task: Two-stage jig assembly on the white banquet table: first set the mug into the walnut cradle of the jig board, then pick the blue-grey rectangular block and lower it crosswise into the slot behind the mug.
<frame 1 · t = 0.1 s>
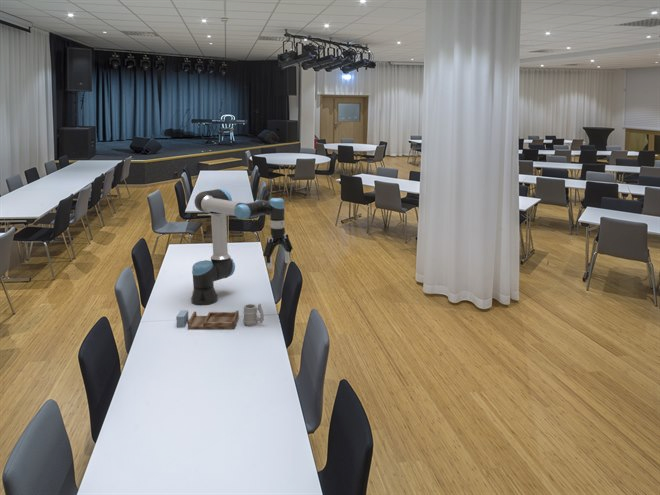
hand: (278, 265, 298), 28 cm above the table, fingers open, 13 cm apart
mug: (254, 324, 290), on the table
jig: (214, 323, 291), on the table
blue-grey rectangular block: (182, 324, 291), on the table
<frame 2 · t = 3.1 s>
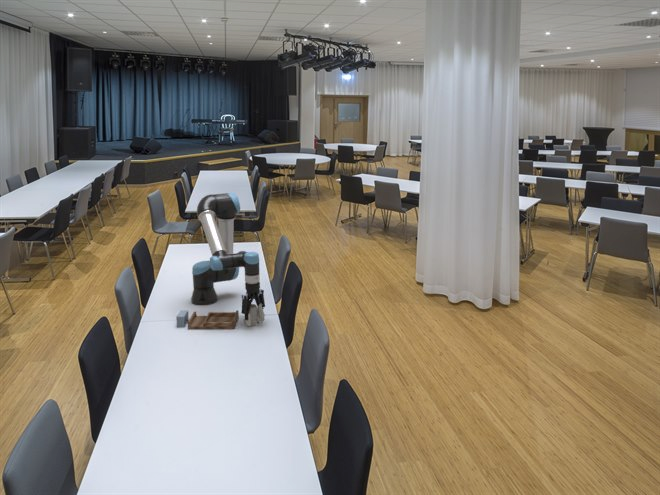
hand: (253, 323, 290), 1 cm above the table, fingers closed on mug, 7 cm apart
mug: (254, 324, 291), on the table, touching gripper
everything else where it was.
when the fingers open (5 cm above the table, at t = 8.1 s): mug drops 2 cm, resting on jig.
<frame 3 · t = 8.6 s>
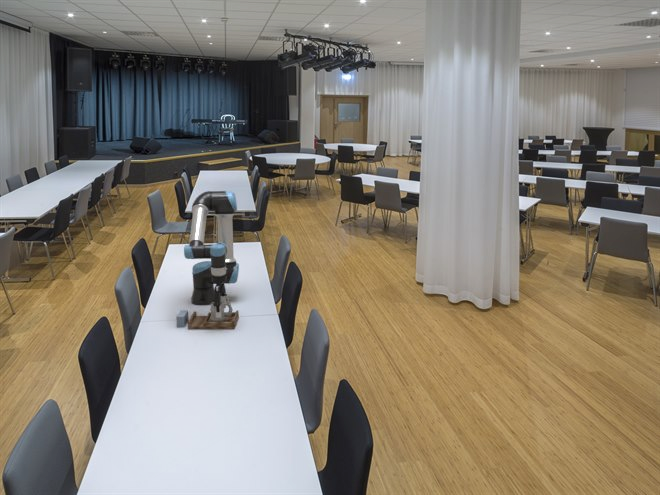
hand: (221, 312, 290), 6 cm above the table, fingers open, 13 cm apart
mug: (221, 320, 291), point 1 cm above the table, touching jig
everything else where it was.
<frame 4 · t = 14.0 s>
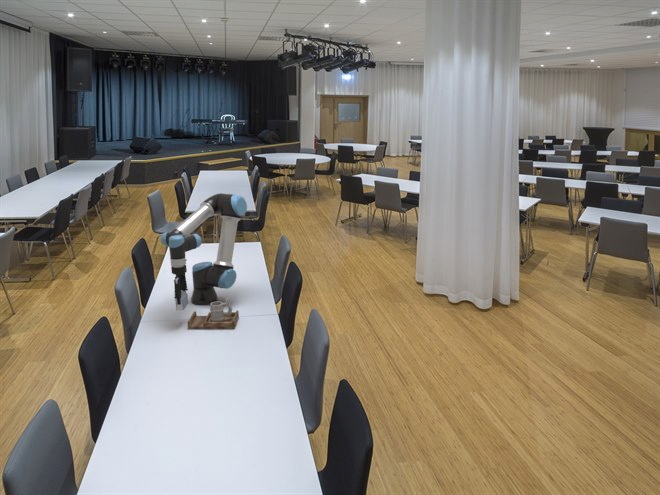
hand: (182, 306, 289), 10 cm above the table, fingers closed on blue-grey rectangular block, 9 cm apart
blue-grey rectangular block: (182, 306, 289), point 9 cm above the table, touching gripper
everything else where it was.
when the fingers open (3 cm above the table, at t = 17.4 s): blue-grey rectangular block drops 1 cm, resting on jig.
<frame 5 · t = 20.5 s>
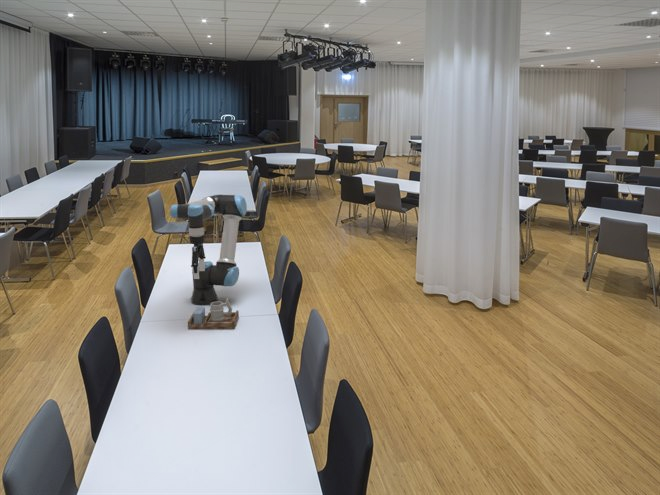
hand: (199, 274, 286), 27 cm above the table, fingers open, 13 cm apart
blue-grey rectangular block: (199, 321, 291), point 1 cm above the table, touching jig
everything else where it was.
at the end: mug inside the target area on the jig (0.7 cm from its centre), point 1.3 cm above the jig's base; mug tilted 0°; blue-grey rectangular block 0.0 cm from the target spot on the jig, point 1.5 cm above the jig's base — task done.
